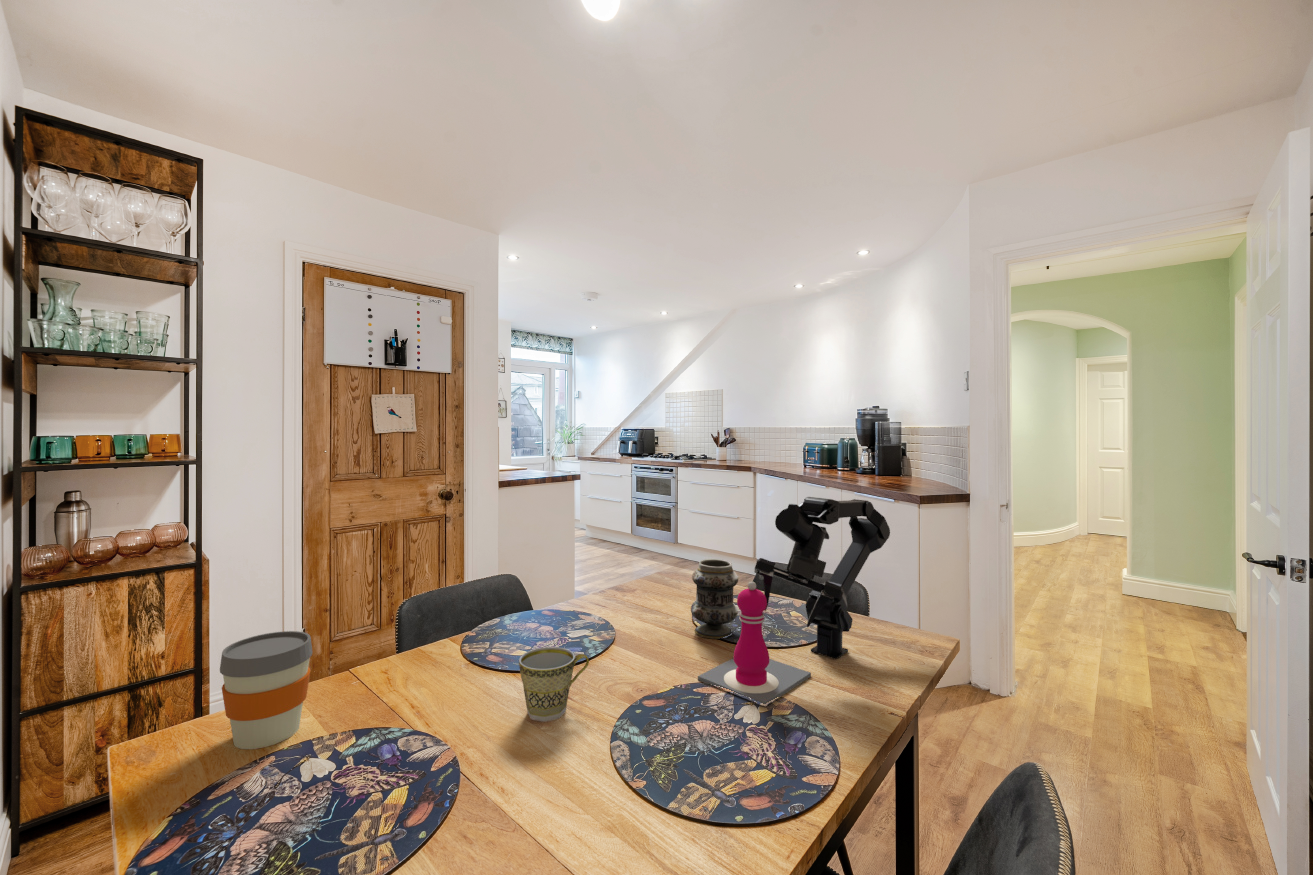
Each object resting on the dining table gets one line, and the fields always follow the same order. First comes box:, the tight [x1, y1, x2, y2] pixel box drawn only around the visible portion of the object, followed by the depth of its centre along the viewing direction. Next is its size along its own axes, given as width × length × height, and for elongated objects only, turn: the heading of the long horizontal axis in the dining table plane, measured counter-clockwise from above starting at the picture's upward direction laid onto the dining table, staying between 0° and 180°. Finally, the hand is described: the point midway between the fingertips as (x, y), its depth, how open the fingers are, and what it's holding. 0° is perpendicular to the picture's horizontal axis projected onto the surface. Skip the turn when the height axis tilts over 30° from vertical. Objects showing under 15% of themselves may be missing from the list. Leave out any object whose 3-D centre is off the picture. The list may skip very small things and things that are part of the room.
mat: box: [697, 657, 812, 704], centre depth 113 cm, size 18×16×1 cm
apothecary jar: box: [690, 558, 739, 640], centre depth 138 cm, size 12×12×18 cm
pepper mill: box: [733, 581, 770, 686], centre depth 110 cm, size 7×7×20 cm
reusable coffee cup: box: [219, 630, 313, 750], centre depth 90 cm, size 13×13×15 cm
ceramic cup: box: [518, 646, 590, 723], centre depth 99 cm, size 13×10×10 cm
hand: (786, 618), depth 115 cm, fingers open, 9 cm apart
